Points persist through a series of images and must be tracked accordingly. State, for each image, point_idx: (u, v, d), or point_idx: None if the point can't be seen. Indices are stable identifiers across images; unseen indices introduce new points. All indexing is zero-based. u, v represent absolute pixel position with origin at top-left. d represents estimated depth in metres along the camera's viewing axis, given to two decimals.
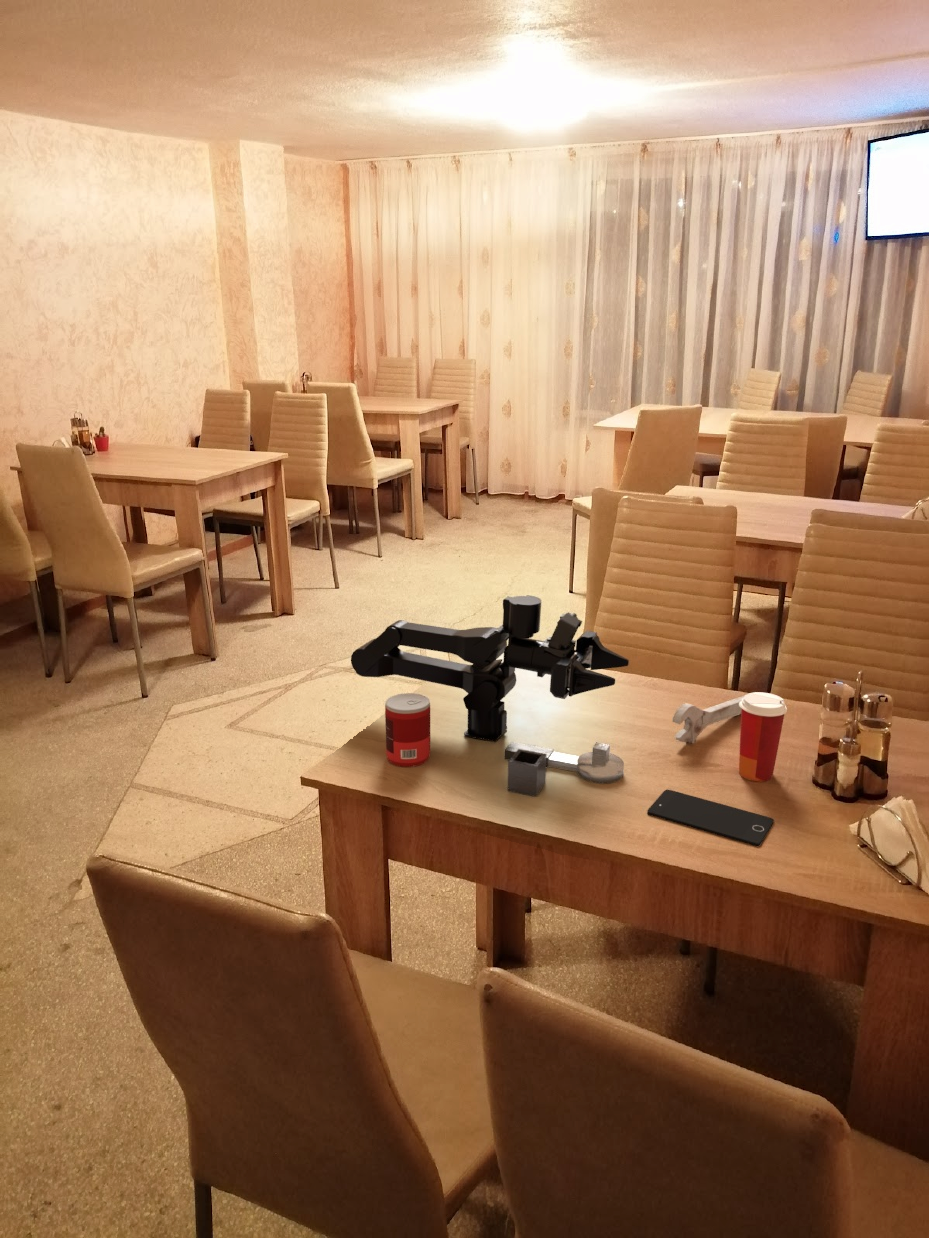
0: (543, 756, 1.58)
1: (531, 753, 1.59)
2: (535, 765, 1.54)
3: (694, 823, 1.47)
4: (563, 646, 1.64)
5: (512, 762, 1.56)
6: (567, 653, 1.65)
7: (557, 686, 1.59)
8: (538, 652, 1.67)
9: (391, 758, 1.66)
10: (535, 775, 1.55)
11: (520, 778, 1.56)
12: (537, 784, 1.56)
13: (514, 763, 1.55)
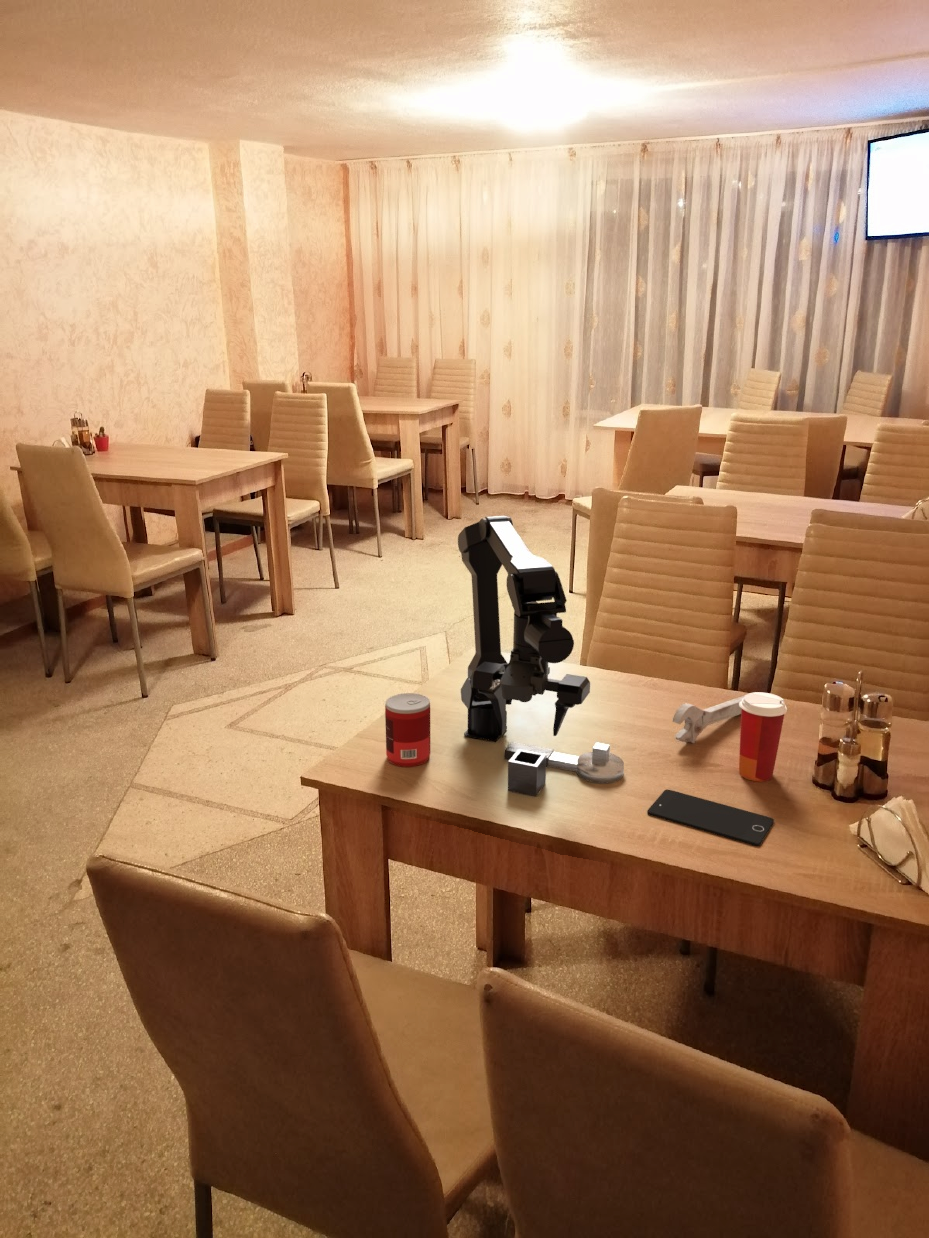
0: (543, 756, 1.58)
1: (531, 753, 1.59)
2: (535, 765, 1.54)
3: (694, 823, 1.47)
4: None
5: (512, 762, 1.56)
6: None
7: None
8: (514, 648, 1.50)
9: (391, 758, 1.66)
10: (535, 775, 1.55)
11: (520, 778, 1.56)
12: (537, 784, 1.56)
13: (514, 763, 1.55)
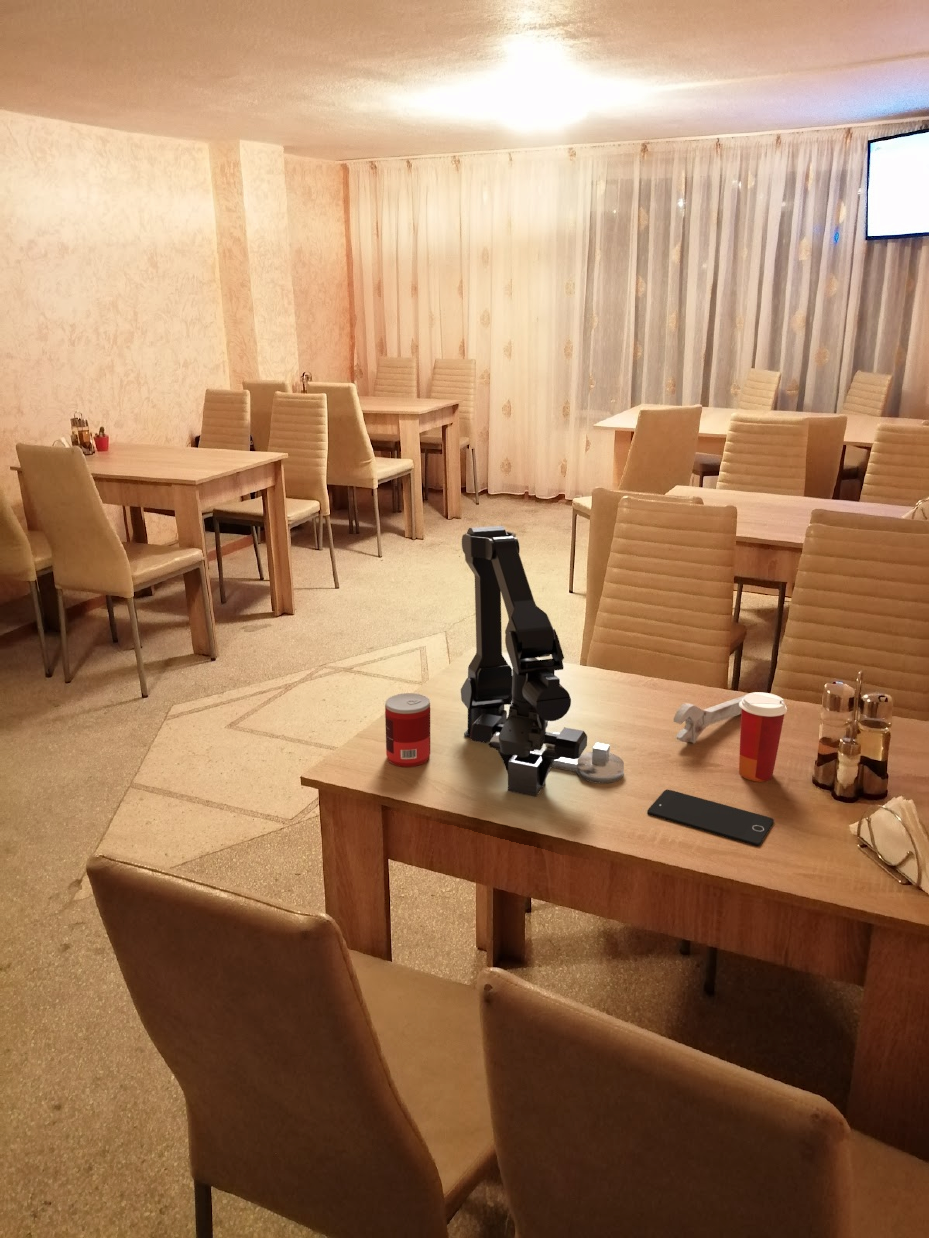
0: None
1: (531, 753, 1.59)
2: (535, 765, 1.54)
3: (694, 823, 1.47)
4: None
5: (512, 762, 1.56)
6: None
7: None
8: (512, 703, 1.53)
9: (391, 758, 1.66)
10: (535, 775, 1.55)
11: (520, 778, 1.56)
12: (537, 784, 1.56)
13: (514, 763, 1.55)
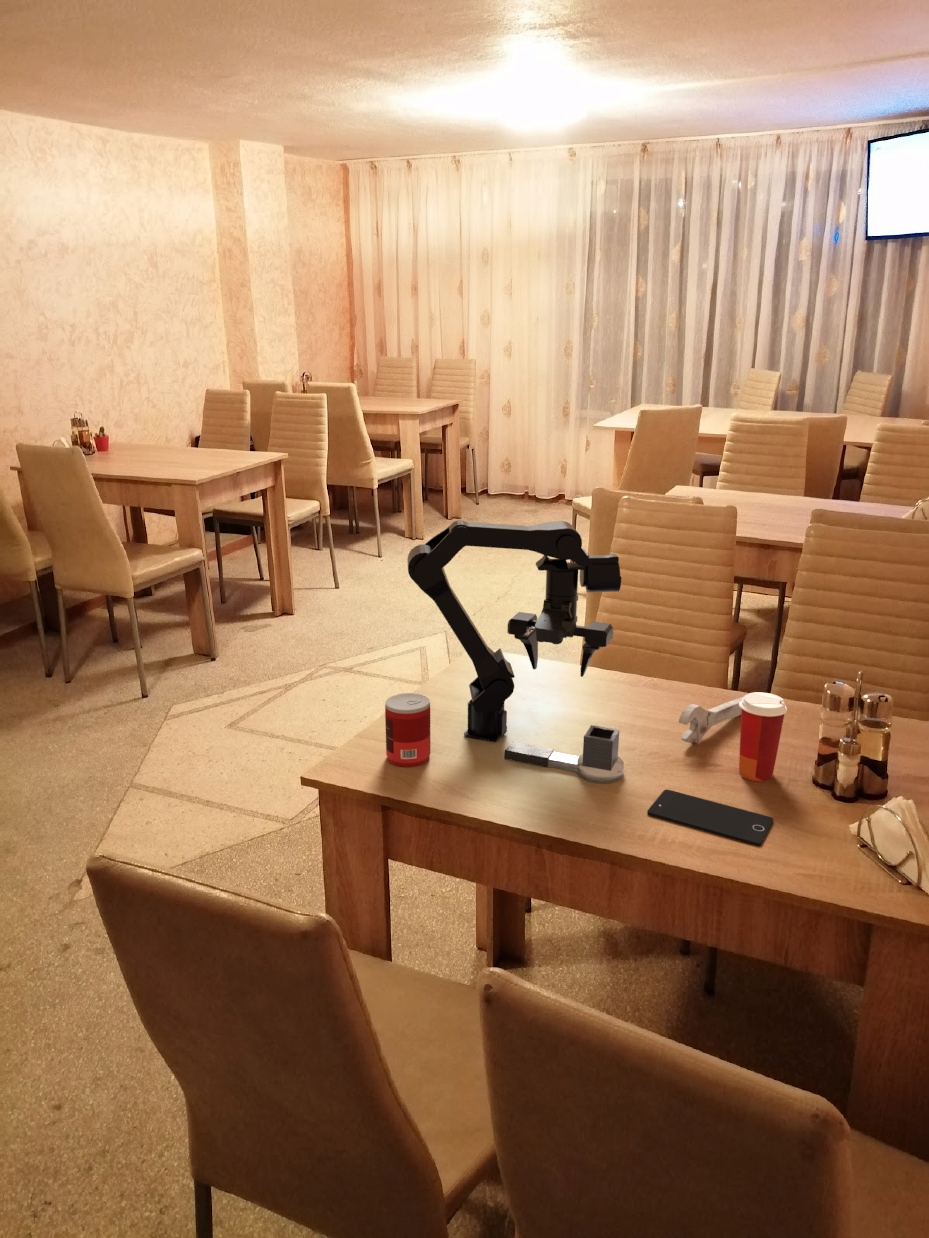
0: (616, 731, 1.62)
1: (604, 729, 1.63)
2: (610, 740, 1.59)
3: (694, 823, 1.47)
4: None
5: (587, 737, 1.60)
6: None
7: None
8: (546, 598, 1.70)
9: (391, 758, 1.66)
10: (611, 749, 1.59)
11: (595, 753, 1.60)
12: (612, 758, 1.60)
13: (589, 738, 1.60)
